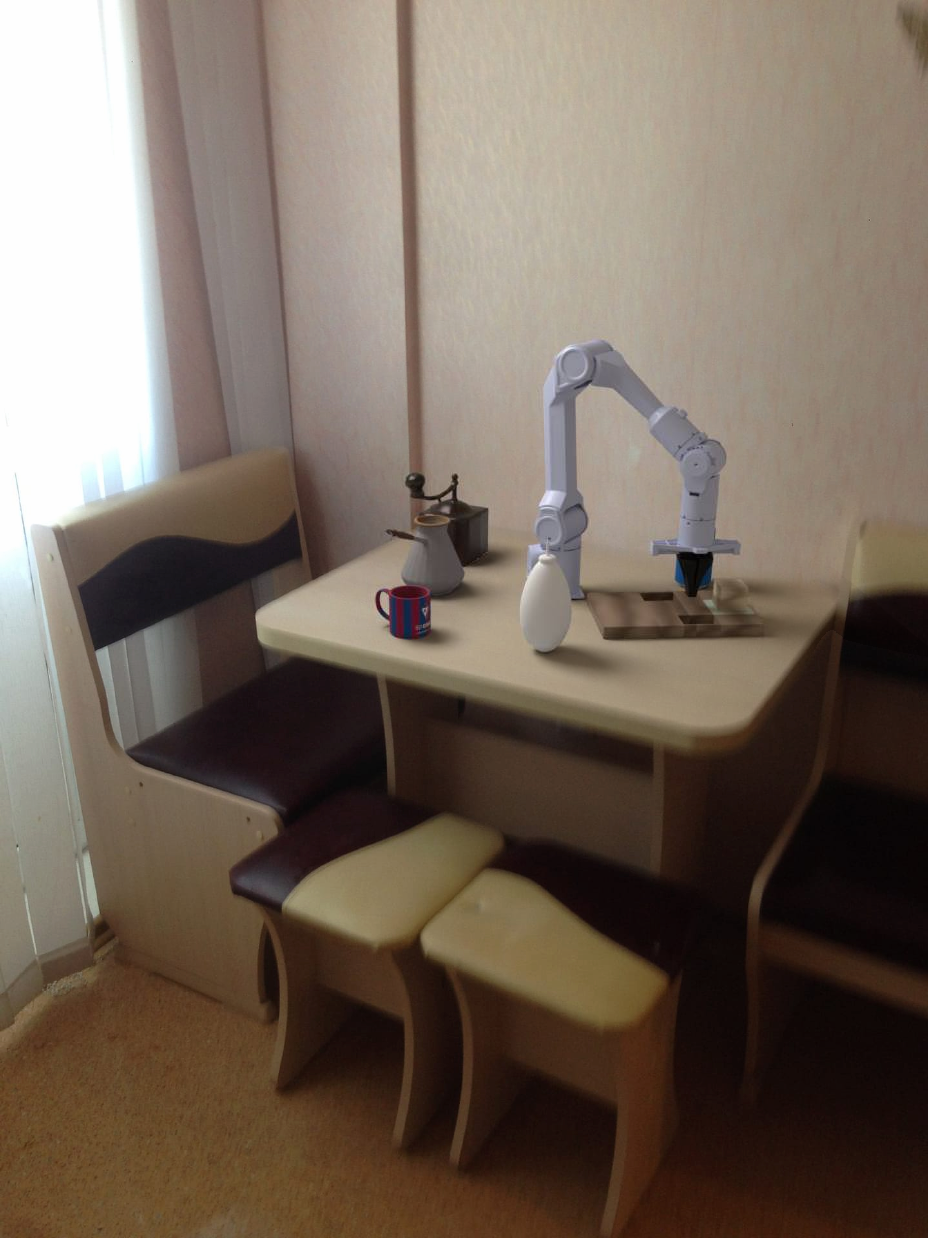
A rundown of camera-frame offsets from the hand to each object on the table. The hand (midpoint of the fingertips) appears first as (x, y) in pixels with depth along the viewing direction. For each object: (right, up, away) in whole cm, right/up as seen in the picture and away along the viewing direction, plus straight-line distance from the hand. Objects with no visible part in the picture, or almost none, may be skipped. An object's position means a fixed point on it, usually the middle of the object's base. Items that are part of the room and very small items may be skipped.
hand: (690, 595), depth 179 cm
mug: (-48, -6, -3) cm, 48 cm away
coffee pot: (-46, 0, +11) cm, 47 cm away
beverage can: (+4, +2, +18) cm, 18 cm away
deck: (-3, -4, +1) cm, 5 cm away
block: (+7, -2, +1) cm, 7 cm away
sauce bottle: (-25, -9, -11) cm, 29 cm away
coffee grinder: (-41, +7, +31) cm, 52 cm away
